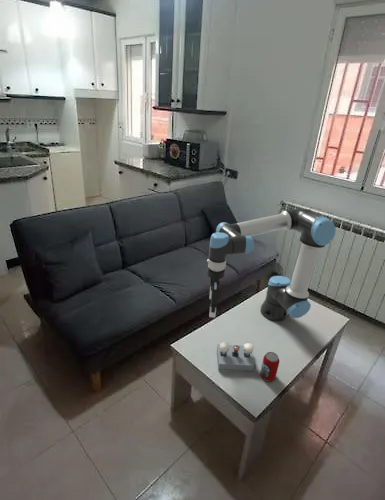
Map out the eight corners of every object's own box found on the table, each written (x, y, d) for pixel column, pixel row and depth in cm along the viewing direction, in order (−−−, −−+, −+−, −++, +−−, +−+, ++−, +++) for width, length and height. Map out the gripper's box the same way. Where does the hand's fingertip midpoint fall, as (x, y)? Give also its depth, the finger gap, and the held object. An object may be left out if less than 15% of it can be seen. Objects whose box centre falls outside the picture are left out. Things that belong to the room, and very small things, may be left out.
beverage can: (258, 370, 141) (262, 350, 135) (272, 369, 141) (277, 350, 136) (262, 382, 135) (266, 362, 129) (277, 382, 135) (282, 362, 130)
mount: (249, 352, 150) (250, 346, 148) (253, 371, 140) (254, 365, 138) (216, 350, 150) (217, 344, 148) (218, 370, 139) (219, 363, 138)
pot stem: (238, 351, 144) (239, 345, 142) (239, 356, 142) (240, 349, 140) (232, 351, 144) (233, 344, 142) (232, 355, 141) (233, 349, 140)
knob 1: (228, 349, 145) (229, 342, 143) (228, 357, 141) (230, 349, 139) (218, 349, 145) (219, 341, 142) (219, 356, 141) (220, 348, 139)
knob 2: (251, 351, 145) (252, 343, 143) (252, 358, 141) (254, 350, 139) (242, 350, 145) (243, 342, 143) (243, 357, 141) (244, 349, 139)
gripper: (207, 253, 144) (204, 291, 154) (207, 282, 122) (203, 324, 131) (223, 254, 144) (219, 292, 153) (226, 283, 122) (221, 325, 131)
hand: (212, 307), depth 142 cm, fingers open, 13 cm apart
